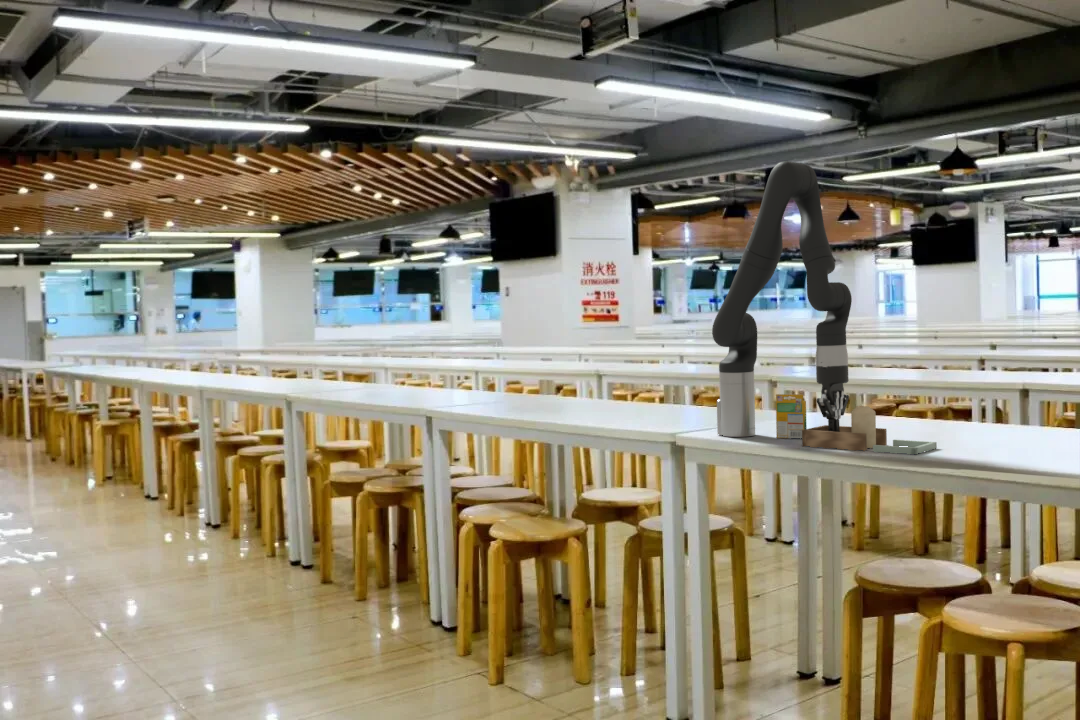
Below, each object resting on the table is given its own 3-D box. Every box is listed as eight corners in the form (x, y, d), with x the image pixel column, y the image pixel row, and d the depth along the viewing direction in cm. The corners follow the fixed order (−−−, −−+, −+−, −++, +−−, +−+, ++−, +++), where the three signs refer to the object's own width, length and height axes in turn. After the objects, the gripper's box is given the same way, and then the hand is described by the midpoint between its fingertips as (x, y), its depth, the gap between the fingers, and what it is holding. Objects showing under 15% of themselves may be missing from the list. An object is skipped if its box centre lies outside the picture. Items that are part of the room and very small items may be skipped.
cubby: (802, 446, 236) (801, 430, 236) (825, 440, 245) (825, 425, 244) (864, 451, 225) (864, 434, 225) (886, 445, 234) (886, 428, 233)
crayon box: (807, 437, 252) (806, 393, 251) (804, 439, 249) (803, 394, 249) (779, 437, 255) (778, 393, 255) (776, 438, 253) (775, 394, 252)
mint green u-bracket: (873, 451, 224) (872, 445, 223) (894, 445, 232) (894, 439, 232) (915, 454, 217) (915, 448, 217) (936, 448, 225) (936, 442, 225)
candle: (880, 447, 230) (880, 406, 229) (861, 449, 228) (860, 407, 227) (866, 445, 235) (865, 404, 234) (847, 446, 233) (846, 405, 233)
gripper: (830, 362, 243) (832, 430, 244) (804, 365, 234) (807, 436, 234) (858, 362, 238) (860, 432, 239) (833, 365, 229) (836, 438, 229)
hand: (834, 434), depth 236 cm, fingers closed
